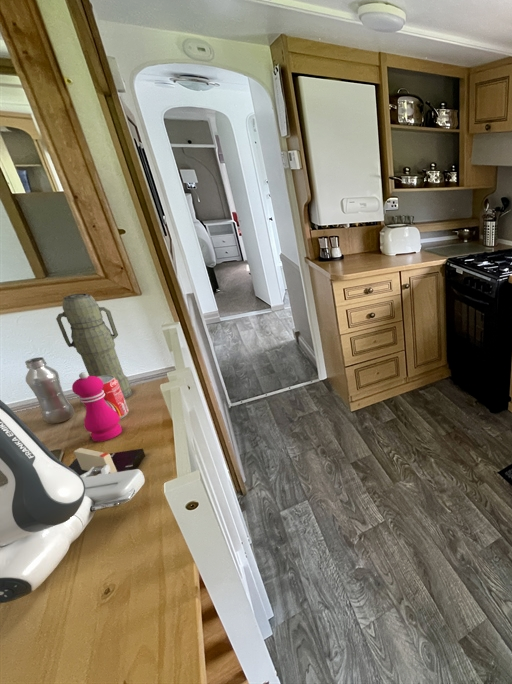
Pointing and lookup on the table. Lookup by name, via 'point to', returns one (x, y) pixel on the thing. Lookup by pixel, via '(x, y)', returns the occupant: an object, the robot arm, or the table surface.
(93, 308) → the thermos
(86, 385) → the pepper mill
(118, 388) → the soda can
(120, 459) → the panel
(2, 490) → the robot arm
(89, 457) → the cream block red end
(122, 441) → the table surface
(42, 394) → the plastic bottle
